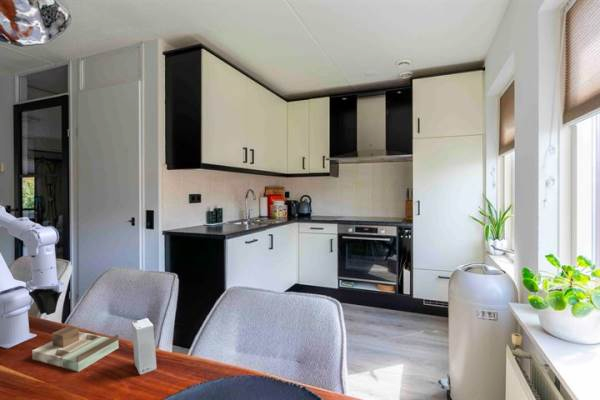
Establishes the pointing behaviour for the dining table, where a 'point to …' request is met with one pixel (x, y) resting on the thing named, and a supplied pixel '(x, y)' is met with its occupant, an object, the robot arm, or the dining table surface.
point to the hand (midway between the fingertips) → (47, 313)
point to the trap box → (77, 351)
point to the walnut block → (65, 336)
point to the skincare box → (144, 345)
